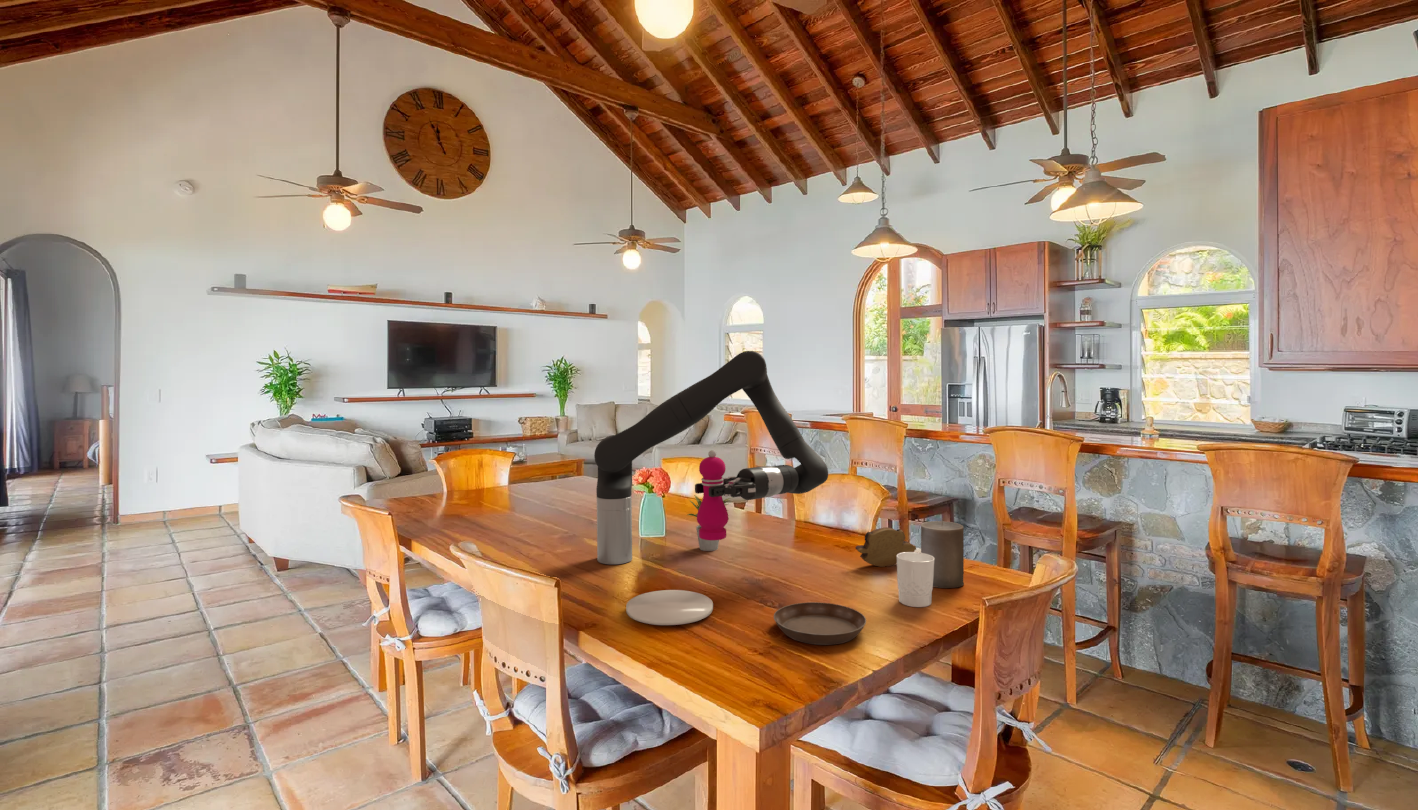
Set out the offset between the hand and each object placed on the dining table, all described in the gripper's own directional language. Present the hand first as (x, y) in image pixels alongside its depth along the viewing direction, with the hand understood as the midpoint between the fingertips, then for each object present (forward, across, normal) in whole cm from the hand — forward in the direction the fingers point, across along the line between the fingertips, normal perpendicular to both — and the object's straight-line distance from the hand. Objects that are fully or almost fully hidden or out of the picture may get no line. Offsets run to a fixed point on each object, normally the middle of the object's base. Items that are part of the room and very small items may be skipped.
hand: (702, 490), depth 151 cm
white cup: (-33, +33, +24) cm, 52 cm away
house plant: (-23, -28, +24) cm, 44 cm away
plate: (+13, +6, +23) cm, 27 cm away
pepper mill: (-3, 0, +11) cm, 12 cm away
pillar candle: (-49, +28, +24) cm, 62 cm away
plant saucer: (-5, +32, +24) cm, 40 cm away
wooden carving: (-50, +11, +24) cm, 56 cm away
